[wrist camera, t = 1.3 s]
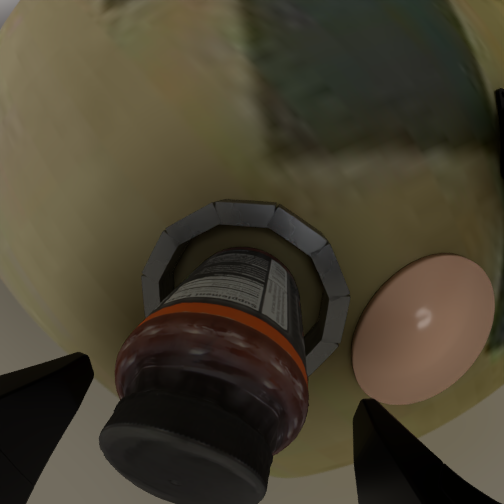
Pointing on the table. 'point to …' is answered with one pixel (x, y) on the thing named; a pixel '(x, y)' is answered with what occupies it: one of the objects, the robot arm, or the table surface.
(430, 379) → the terracotta saucer
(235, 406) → the supplement bottle
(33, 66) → the table surface
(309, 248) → the cup collar
